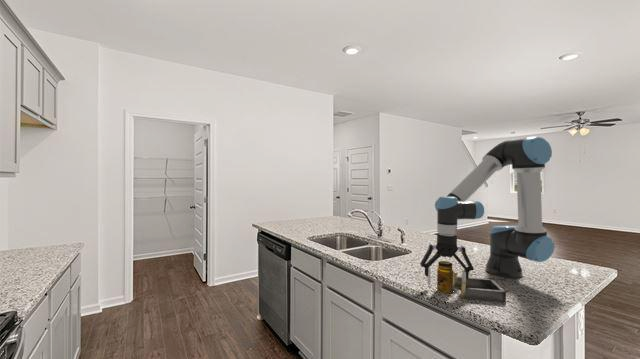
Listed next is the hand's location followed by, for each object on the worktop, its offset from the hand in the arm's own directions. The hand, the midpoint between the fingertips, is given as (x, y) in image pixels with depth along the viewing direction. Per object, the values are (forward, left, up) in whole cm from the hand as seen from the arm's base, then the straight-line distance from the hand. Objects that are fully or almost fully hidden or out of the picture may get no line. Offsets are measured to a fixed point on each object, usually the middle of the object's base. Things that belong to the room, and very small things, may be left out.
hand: (445, 285), depth 118 cm
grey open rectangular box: (-12, 0, -2) cm, 12 cm away
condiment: (0, 0, -3) cm, 3 cm away
